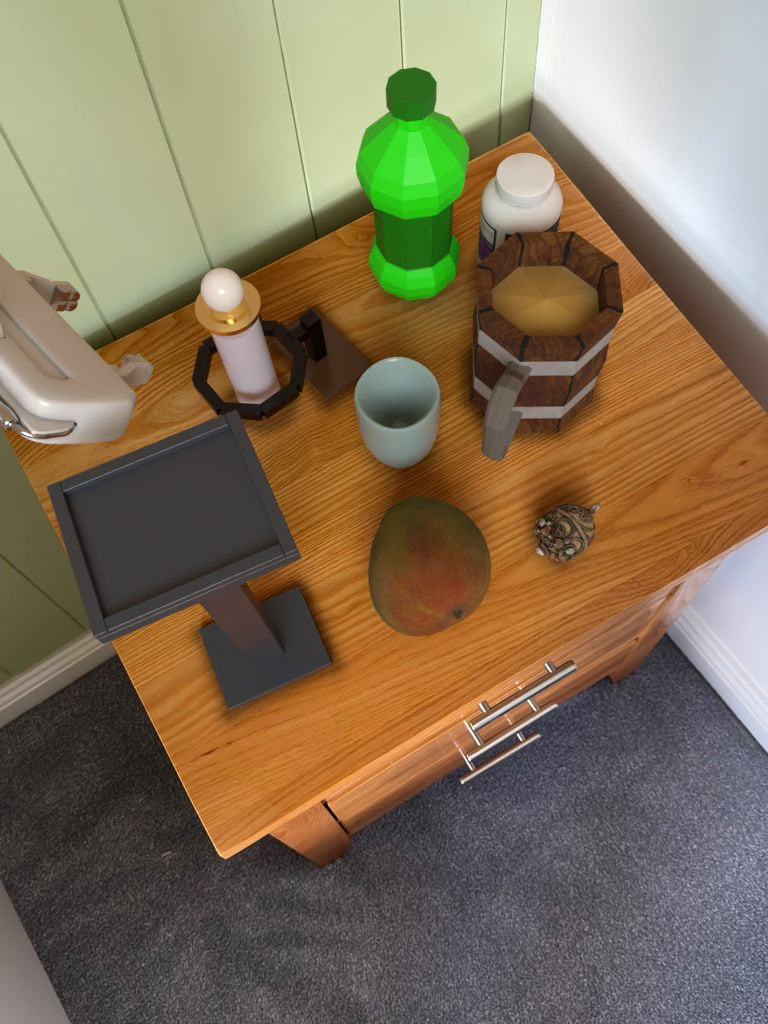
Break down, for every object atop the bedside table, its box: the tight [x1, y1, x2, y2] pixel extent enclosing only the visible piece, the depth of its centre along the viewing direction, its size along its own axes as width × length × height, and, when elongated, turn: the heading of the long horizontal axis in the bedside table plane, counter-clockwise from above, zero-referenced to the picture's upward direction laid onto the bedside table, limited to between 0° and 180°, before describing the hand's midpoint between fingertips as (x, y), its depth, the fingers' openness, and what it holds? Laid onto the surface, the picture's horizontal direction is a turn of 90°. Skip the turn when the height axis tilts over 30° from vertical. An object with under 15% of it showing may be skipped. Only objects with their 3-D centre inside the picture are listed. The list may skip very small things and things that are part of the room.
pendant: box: [531, 501, 601, 563], centre depth 77 cm, size 5×8×5 cm, turn 129°
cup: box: [353, 356, 442, 469], centre depth 80 cm, size 8×8×10 cm
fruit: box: [367, 495, 492, 637], centre depth 74 cm, size 12×12×10 cm
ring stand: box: [191, 307, 372, 422], centre depth 84 cm, size 16×11×7 cm, turn 129°
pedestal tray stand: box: [46, 410, 333, 712], centre depth 62 cm, size 12×10×32 cm
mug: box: [468, 230, 625, 462], centre depth 79 cm, size 20×14×15 cm
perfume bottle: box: [194, 267, 282, 404], centre depth 78 cm, size 6×6×20 cm
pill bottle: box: [476, 152, 564, 266], centre depth 85 cm, size 8×8×14 cm
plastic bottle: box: [355, 66, 470, 302], centre depth 81 cm, size 10×10×25 cm
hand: (108, 331), depth 63 cm, fingers open, 8 cm apart
